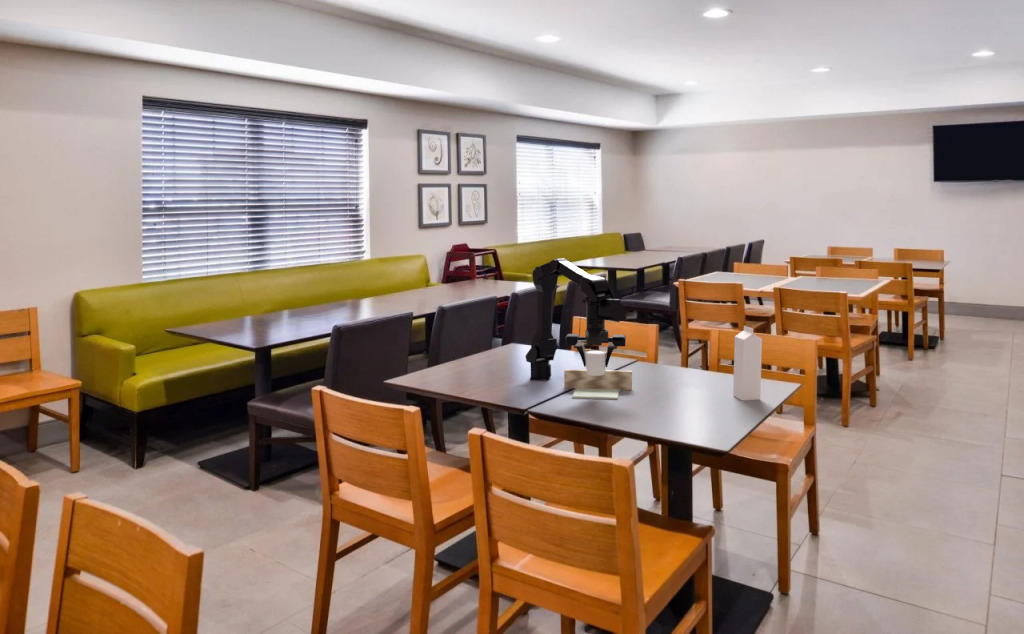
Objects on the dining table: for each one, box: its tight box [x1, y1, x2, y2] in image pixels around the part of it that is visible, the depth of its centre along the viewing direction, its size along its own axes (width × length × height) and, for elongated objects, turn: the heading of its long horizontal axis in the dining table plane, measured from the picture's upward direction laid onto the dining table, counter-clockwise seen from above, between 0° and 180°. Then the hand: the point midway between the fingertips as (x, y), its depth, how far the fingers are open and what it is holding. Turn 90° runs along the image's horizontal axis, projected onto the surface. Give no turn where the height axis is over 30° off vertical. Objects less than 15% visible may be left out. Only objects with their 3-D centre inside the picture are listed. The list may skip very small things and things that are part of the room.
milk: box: [732, 325, 763, 402], centre depth 221 cm, size 6×6×22 cm
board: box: [563, 368, 633, 391], centre depth 238 cm, size 22×2×6 cm, turn 79°
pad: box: [572, 388, 620, 400], centre depth 230 cm, size 14×10×1 cm
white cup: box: [585, 349, 607, 376], centre depth 229 cm, size 7×7×7 cm
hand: (595, 366), depth 229 cm, fingers closed on white cup, 6 cm apart
